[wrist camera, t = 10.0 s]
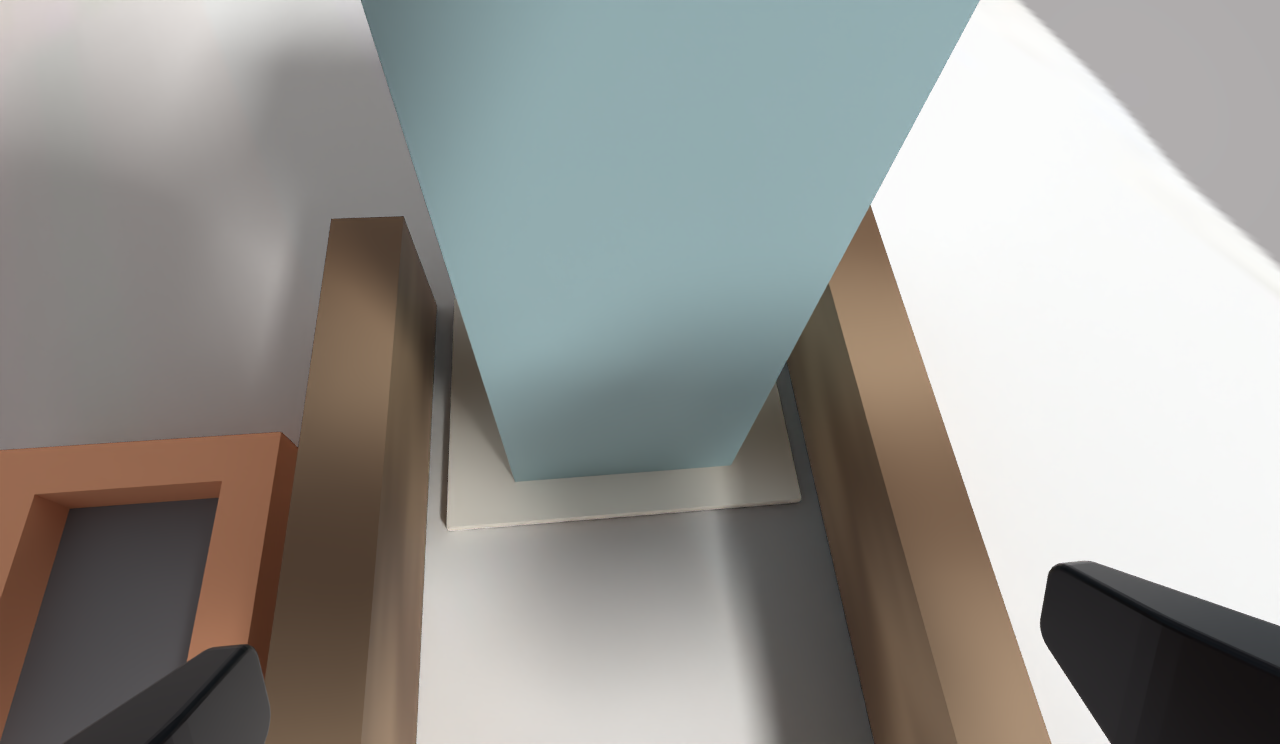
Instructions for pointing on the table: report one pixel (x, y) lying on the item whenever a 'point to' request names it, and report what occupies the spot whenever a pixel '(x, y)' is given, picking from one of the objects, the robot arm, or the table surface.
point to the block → (648, 198)
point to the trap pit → (131, 568)
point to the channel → (628, 506)
